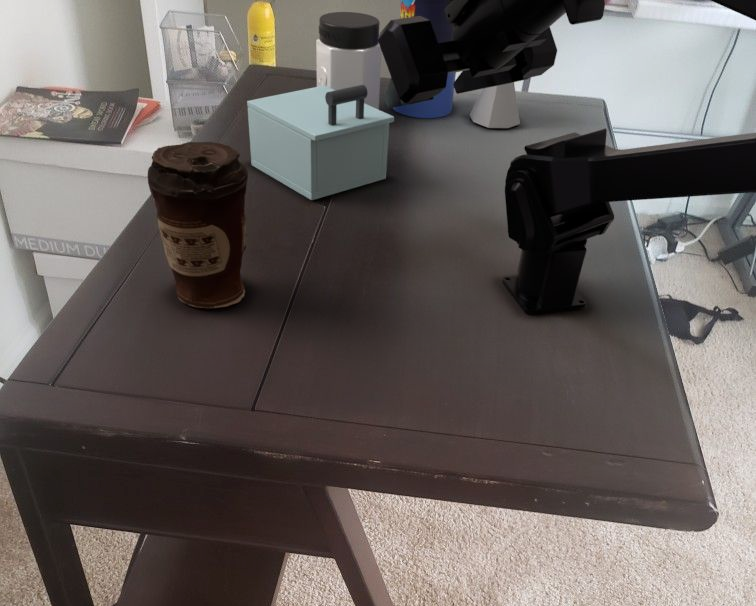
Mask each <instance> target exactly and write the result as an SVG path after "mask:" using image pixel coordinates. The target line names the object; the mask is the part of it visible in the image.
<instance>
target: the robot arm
mask: <svg viewBox="0 0 756 606" xmlns="http://www.w3.org/2000/svg"><path fill="white" fill-rule="evenodd" d="M450 1H451V3H450V4H449V5H448V6H447V7H446V8H445V9H444V10H445V13H446V16H447V19H448V21H449V23H450V24H451V23H453V24H454V27H455V28H454V29H453V41H448V42H442V43H438V41H437V38H436V35H435V33H434V30H433V27H432V24H431V21H430V20H428V19H426V18H424V17H422V16H416V17H409V18H402V19H400V18H395V19H391V20H389V22H388V23H387V24H386V25H385V26H384V27H383V28H382V30H381V31H379V38H378V42H379V45H380V48H381V51H382V52H381V54H382V55H383V58H384V61H385V64H386V67H387V69H388V72H389V75H390V79H389V82H388V85H387V88H386V92H385V95H384V101H385V104H386V106H387V108H388V109H393V108H394V107H399V106H404V105H409V104H415V103H419V102H424V101H429V100H433V99H434V97H433V96H435V95H437V94H439V93H440V92H441V91H443V90H444V89H445V88H446V84H447V77H448V74H450V73H455V72H456V73H460V74H458V76H457V78H455V82H454V84H453V85H454V92H455V93H456V94H457V95H459V94H463V93H468V92H472V91H478V90H482V89H483V88H488V87H493V86H498V85H503V84H508V83H513V82H514V83H517V82H521V81H522V82H523V81H526V80H529V79H530V78H534V77H539V76H542V75H543V74H545V73H546V72H547V71H549V70H550V69H551V68H552V67H554V66H555V63H556V59H557V54H558V48H557V44H556V42H555V39H554V36H553V33H552V29H551V26H553V25H554V24H555V23H556V22H557V21H558V20H559V19H561V18H562V17H563V16H564V15H565V14H566V17H567V20H568V23H569V24H570V25H579V24H586V23H591V22H597V21H600V20H602V19H603V17H604V14H605V8H606V0H450ZM709 1H711V2H713V3H715V4H717V5H719V6H722V7H724V8H726V9H729V10H730V11H733V12H735V13H738V14H740V15H742V16H745V17H747V18H749V19H751V20H753V21H756V0H709ZM607 132H608V129H607V128H602V129H599V130H595V131H591V132H587V133H585V134H581V133H580V134H579V133H577V132H572V133H567V134H565V135H561V136H556V137H552V138H549V139H545V140H542V141H539V142H535V143H531V144H528V145H525V146H524V148H523V149H524V152H525V154H521V155H518V156H516V157H515V158H513V159H512V160H511V161H510V163H509V164H510V165H509V166H508V169H507V172H506V176H505V185H504V199H505V210H506V224H507V235H508V238H509V239H510V240H512V241H514V242H516V244H517V245H518V248H519V249H520V250H521V252H520V258H519V262H518V268H517V275H509V276H503V277H502V281H501V283H502V285H503V286H504V287H505V289H506V290H507V291H508V293H509V294H510V295H511V296H512V297H513V299H514V300H515V302H516V303H517V304H518V306H519V307H520V308H521V310H522V311H523V312H524V313H525V314H527V315H528V314H531V315H532V314H541V313H542V314H543V313H551V312H559V311H560V312H561V311H570V310H578V309H584V308H586V306H587V301H586V300H585V298H584V297H583V296H582V295H581V293H579V292H578V290H577V288H578V285H579V284H578V283H579V281H580V276H581V273H582V270H583V265H584V261H585V258H586V254H587V251H588V249H587V247H586V246H587V243H588V239H592V238H593V237H596V236H602V235H604V234H605V233H606V232H607V230H608V229H609V227H610V226H611V225H612V223H613V222H614V219H615V213H614V211H613V209H612V206H611V203H614V202H628V201H629V202H630V201H644V200H658V199H659V200H660V199H675V198H688V197H705V196H722V195H734V194H735V195H737V194H750V193H751V194H753V193H754V194H756V132H749V133H741V134H734V135H728V136H727V135H726V136H718V137H712V138H709V137H708V138H703V139H695V140H694V139H693V140H688V141H687V140H686V141H680V142H679V141H678V142H672V143H663V144H655V145H647V146H641V147H640V146H639V147H632V148H625V149H617V148H614V147H611V146H609V145H607Z"/></svg>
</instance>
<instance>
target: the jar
mask: <svg viewBox="0 0 756 606" xmlns="http://www.w3.org/2000/svg"><path fill="white" fill-rule="evenodd" d="M318 23H319V25H318V34H319V35H318V36H319V38H317V39H316V41H315V43H316V45H315V46H316V50H315V51H316V54H315V55H316V87H319V86H324V85H325V86H327V87H329V88H331V89H334V90H340V89H344V88H349V87H354V86H359V85H365V86H366V88H367V97H366V98H365V99H364V103H365V104H367V105H369V106H371V107H374V108H376V109H378V110H380V92H381V75H382V74H381V72H382V69H381V68H382V51H381V48H380V45H379V42H378V38H379V35H380V23H381V22H380V20H379V18H377V17H376V16H374V15H370V14H367V13H362V12H354V11H352V12H351V11H333V12H329V13H324V14H322V15H321V16H320V17H319V21H318Z"/></svg>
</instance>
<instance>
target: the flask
mask: <svg viewBox="0 0 756 606" xmlns="http://www.w3.org/2000/svg"><path fill="white" fill-rule="evenodd" d="M469 117H470V119H471V121H472V123H475V124H478V125H480V126H483V127H486V128H488V129H510V128H512V127H515V126H519V125H521V119H520V113H519V108H518V101H517V94H516V88H515V82H513V83H508V84H503V85H498V86H493V87H488V88H483V89H481V91H480V93H479V95H478V97H477V99H476V101H475V103H474V105H473V107H472V109H471V111H470V112H469Z"/></svg>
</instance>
